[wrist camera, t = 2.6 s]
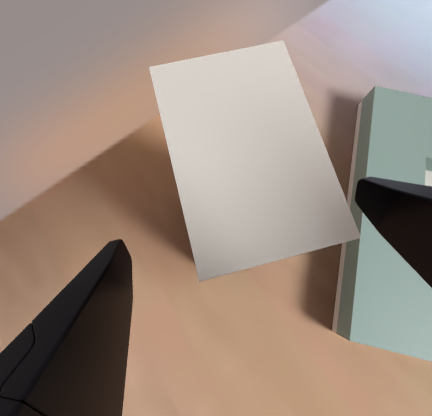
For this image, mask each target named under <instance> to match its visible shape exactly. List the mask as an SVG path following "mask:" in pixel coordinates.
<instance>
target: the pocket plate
mask: <svg viewBox="0 0 432 416" xmlns="http://www.w3.org/2000/svg"><path fill="white" fill-rule="evenodd" d="M365 177H377V178H383V179H389V180H395V181H402V182H408V183H414V184H420V185H426V186H432V98H429V97H424V96H420V95H415V94H410V93H406V92H401V91H396V90H392V89H387V88H382V87H377V86H375V87H374V88H373V89H372V90H371V91H370V92H369V93H368V94H367V96H366V97H365V98H364V99H363V100H362V101H361V102H360V103H359V104H358V110H357V119H356V128H355V136H354V145H353V153H352V162H351V170H350V179H349V188H348V196H347V203H348V206H349V208H350V211H351V213H352V216H353V218H354V221H355V223H356V226H357V228H358V231H359V233H360V236H361V238H359V239H355V240H351V241H348V242H344V243H342V248H341V256H340V265H339V273H338V282H337V291H336V299H335V308H334V316H333V325H332V331H333V332H334V333H336V334H338V335H340V336H342V337H344V338H346V339H347V340H349V341H353V342H356V343H360V344H364V345H368V346H372V347H376V348H380V349H384V350H388V351H392V352H396V353H400V354H404V355H408V356H412V357H416V358H420V359H424V360H428V361H432V288H431V287H430V286H429V285H428V284H427V283H426V282H425V281H424V280H423V279H422V277H421V276H420V275H419V274H418V273H417V272H416V271H415V270H414V269H413V268H412V267H411V266H410V265H409V264H408V263H407V262H406V261H405V260H404V259H403V258H402V257H401V256H400V255H399V253H398V252H397V251H396V250H395V249H394V248H393V247H392V246H391V245H390V244H389V243H388V242H387V241H386V240H385V239H384V238H383V237H382V236H381V235H380V233H379V232H378V231H377V230H376V229H375V227H374V226H373V225H372V223H371V222H370V221H369V220H368V218H367V217H366V216H365V214H364V213H363V212H362V211H361V209H360V208H359V207H358V205H357V204H356V202H355V192H356V186H357V182H358V180H359V179H362V178H365Z"/></svg>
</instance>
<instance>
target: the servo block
mask: <svg viewBox="0 0 432 416" xmlns="http://www.w3.org/2000/svg"><path fill="white" fill-rule="evenodd" d="M149 69H150V73H151V77H152V82H153V85H154V90H155V94H156V99H157V103H158V107H159V111H160V116H161V120H162V124H163V129H164V133H165V137H166V141H167V146H168V150H169V154H170V158H171V163H172V167H173V171H174V176H175V180H176V184H177V188H178V193H179V197H180V201H181V205H182V210H183V214H184V218H185V223H186V227H187V231H188V235H189V240H190V244H191V248H192V252H193V257H194V261H195V265H196V270H197V274H198V278H199V282H200V281H203V280H207V279H211V278H215V277H218V276H222V275H226V274H229V273H233V272H237V271H240V270H244V269H248V268H252V267H255V266H259V265H263V264H266V263H270V262H274V261H277V260H281V259H285V258H289V257H292V256H296V255H300V254H303V253H307V252H311V251H314V250H318V249H322V248H326V247H329V246H333V245H337V244H340V243H344V242H348V241H351V240H355V239H359V238H361V236H360V233H359V231H358V228H357V226H356V223H355V221H354V218H353V216H352V213H351V211H350V208H349V206H348V203H347V201H346V198H345V195H344V193H343V190H342V188H341V185H340V183H339V180H338V178H337V175H336V173H335V170H334V168H333V165H332V162H331V160H330V157H329V155H328V152H327V150H326V147H325V145H324V142H323V140H322V137H321V135H320V132H319V130H318V127H317V124H316V122H315V119H314V117H313V114H312V112H311V109H310V107H309V104H308V102H307V99H306V97H305V94H304V91H303V89H302V86H301V84H300V81H299V79H298V76H297V74H296V71H295V69H294V66H293V64H292V61H291V59H290V56H289V53H288V51H287V48H286V46H285V43H284V41H278V42H273V43H268V44H263V45H258V46H253V47H248V48H243V49H238V50H233V51H227V52H222V53H217V54H213V55H207V56H202V57H197V58H193V59H188V60H183V61H177V62H172V63H167V64H162V65H157V66H152V67H149Z"/></svg>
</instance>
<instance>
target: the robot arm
mask: <svg viewBox="0 0 432 416" xmlns="http://www.w3.org/2000/svg"><path fill="white" fill-rule="evenodd" d="M355 202H356V204H357V205H358V207H359V208H360V209H361V211H362V212H363V213H364V214H365V216H366V217H367V218H368V220H369V221H370V222H371V223H372V225H373V226H374V227H375V229H376V230H377V231H378V232H379V233H380V235H381V236H382V237H383V238H384V239H385V240H386V241H387V242H388V243H389V244H390V245H391V246H392V247H393V248H394V249H395V250H396V251H397V252H398V253H399V255H400V256H401V257H402V258H403V259H404V260H405V261H406V262H407V263H408V264H409V265H410V266H411V267H412V268H413V269H414V270H415V271H416V272H417V273H418V274H419V275H420V276H421V277H422V279H423V280H424V281H425V282H426V283H427V284H428V285H429V286H430V287H431V288H432V186H426V185H420V184H414V183H408V182H402V181H395V180H389V179H383V178H377V177H365V178H362V179H359V180H358V182H357V186H356V192H355ZM132 304H133V285H132V260H131V256H130V254H129V252H128V250H127V248H126V246H125V244H124V242H123V240H121V239H118V240H114V241H110V242H109V243H108V244H107V245H106V246H105V247H104V248H103V249H102V250H101V251H100V252H99V253H98V254H97V255H96V256H95V257H94V258H93V259H92V260H91V261H90V262H89V263H88V264H87V265H86V266H85V267H84V268H83V269H82V270H81V271H80V272H79V273H78V274H77V276H76V277H75V278H74V279H73V280H72V281H71V282H70V283H69V284H68V285H67V286H66V287H65V288H64V289H63V290H62V291H61V292H60V293H59V294H58V295H57V296H56V297H55V298H54V299H53V300H52V301H51V302H50V303H49V304H48V305H47V306H46V307H45V308H44V309H43V310H42V311H41V312H40V313H39V315H38V316H37V317H36V318H35V319H34V320H33V321H32V323H30V324H29V325H28V326H27V327H26V328H25V329H24V330H23V331H22V332H21V333H20V334H19V335H18V336H17V337H16V338H15V339H14V340H13V341H12V342H11V343H10V344H9V345H8V346H7V347H6V348H5V349H4V350H3V351H2V352H1V353H0V416H122V409H123V399H124V388H125V378H126V367H127V357H128V346H129V336H130V325H131V315H132Z"/></svg>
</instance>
